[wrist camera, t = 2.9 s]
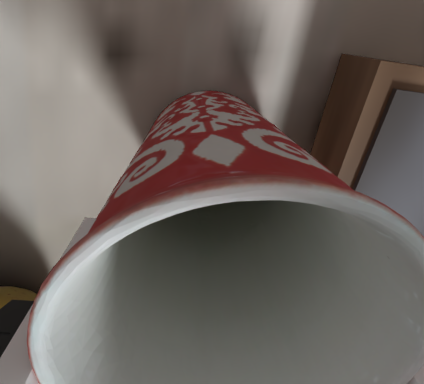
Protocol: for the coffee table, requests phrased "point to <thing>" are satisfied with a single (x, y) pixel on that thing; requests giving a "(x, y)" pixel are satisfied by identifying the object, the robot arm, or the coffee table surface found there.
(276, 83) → the coffee table surface
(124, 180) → the mug
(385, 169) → the stand
